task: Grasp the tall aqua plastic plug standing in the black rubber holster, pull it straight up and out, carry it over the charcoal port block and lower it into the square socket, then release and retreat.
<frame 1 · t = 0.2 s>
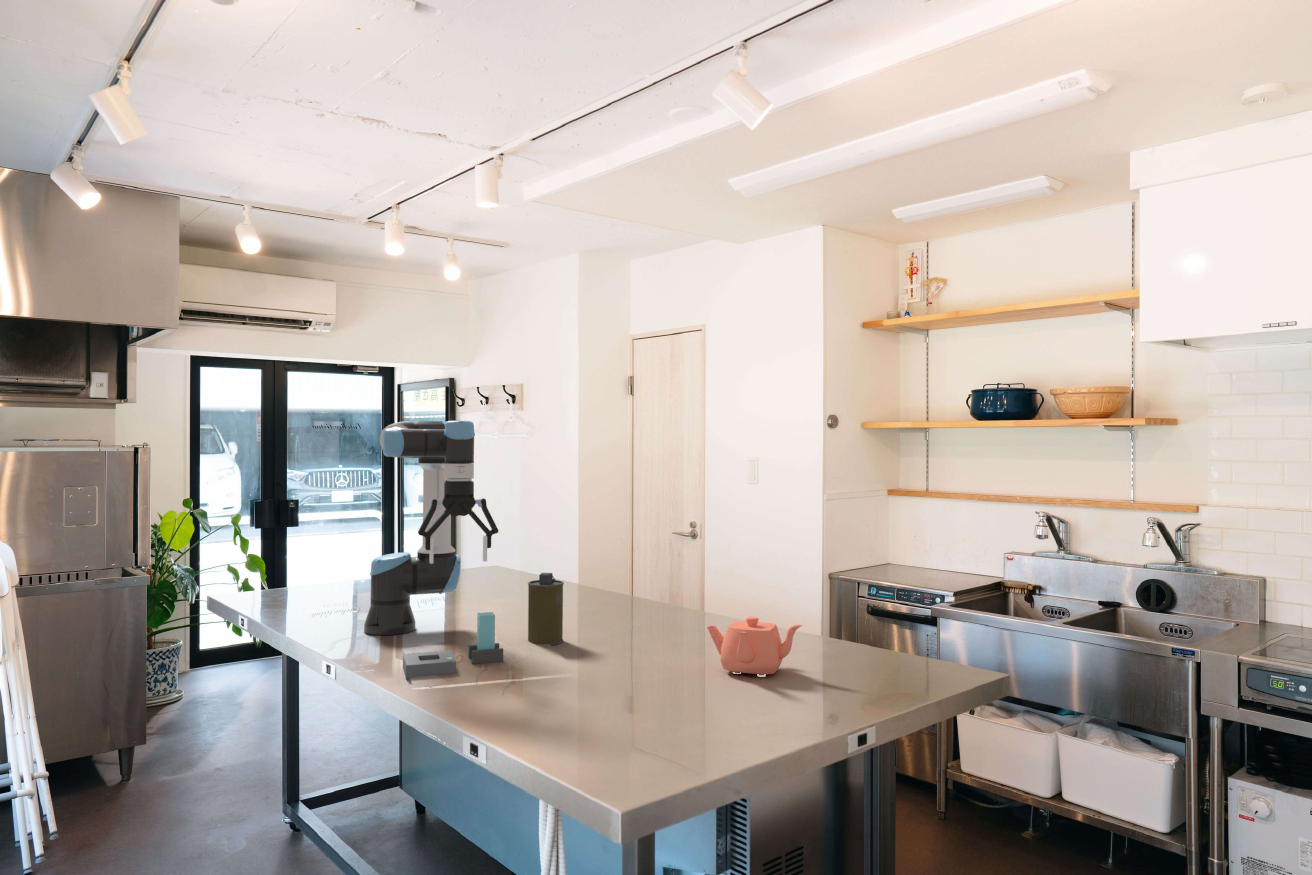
hand: (458, 561, 217), 27 cm above the table, fingers open, 13 cm apart
port: (429, 671, 212), on the table
holster: (485, 661, 222), on the table
teapot: (753, 672, 213), on the table
canister: (545, 642, 244), on the table
plug: (485, 659, 222), point 1 cm above the table, touching holster
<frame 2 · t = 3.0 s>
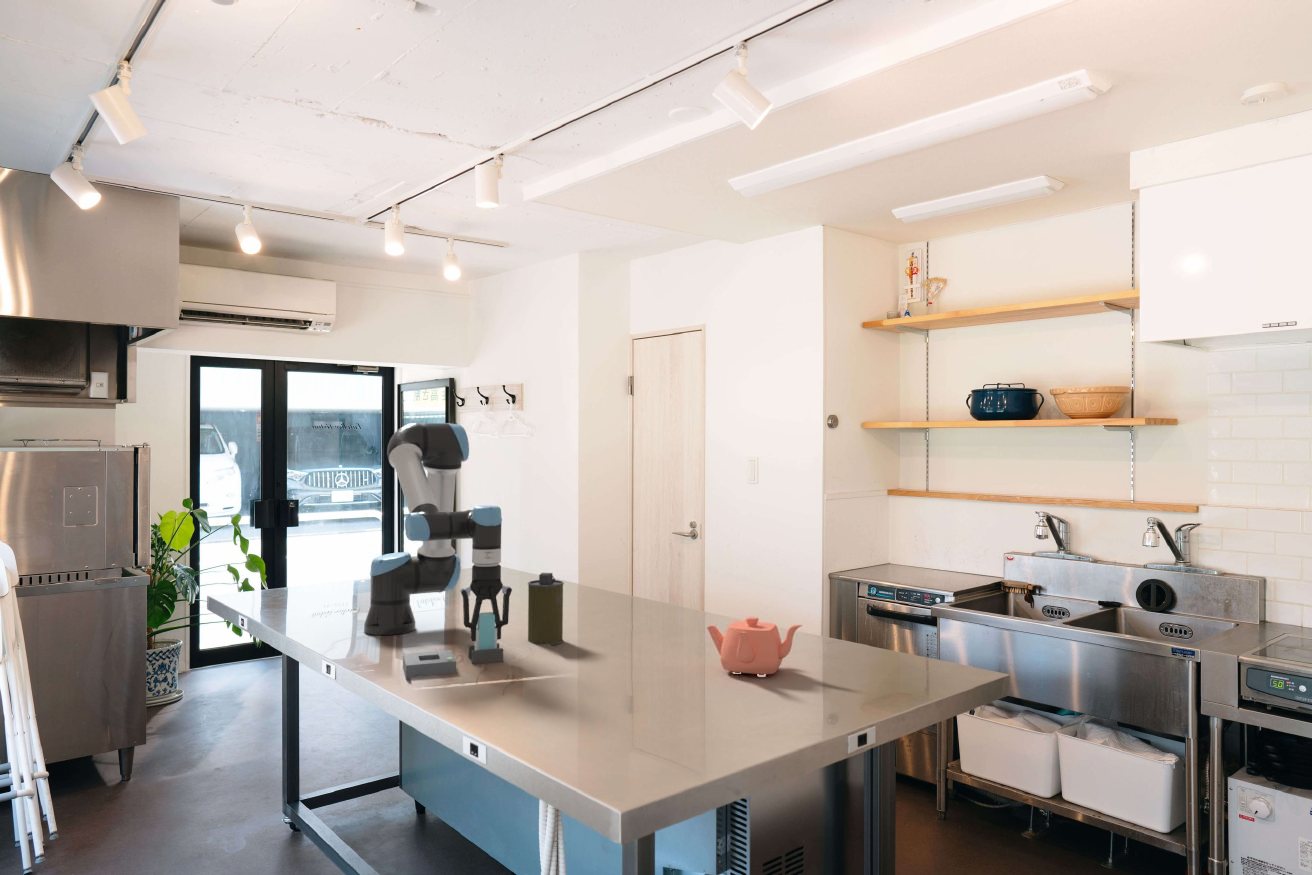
hand: (485, 652, 222), 2 cm above the table, fingers closed on plug, 4 cm apart
plug: (485, 659, 222), point 1 cm above the table, touching gripper, holster
everything else where it was.
when the fingers open (4 cm above the table, at t = 8.4 s): plug drops 2 cm, resting in port.
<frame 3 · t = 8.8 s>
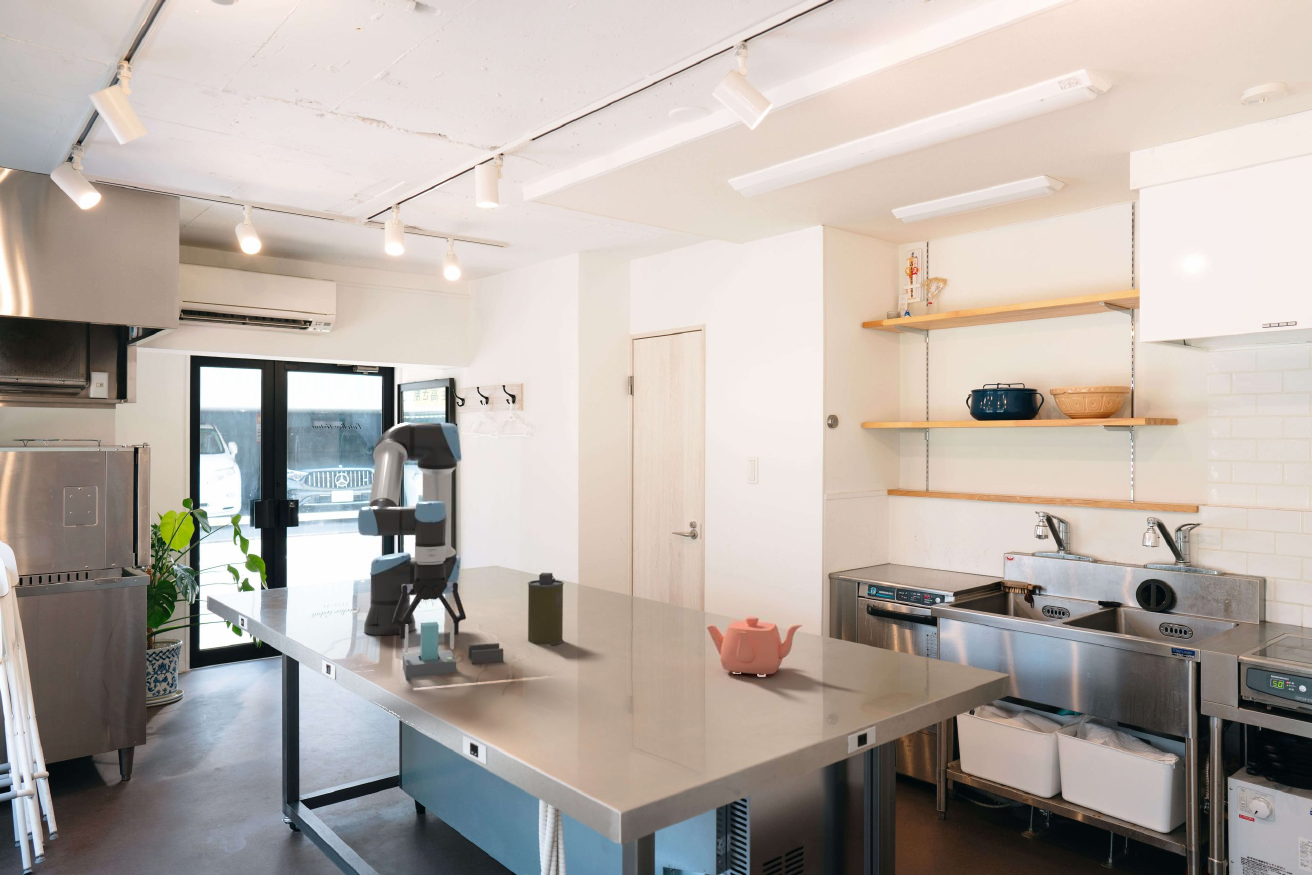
hand: (429, 649, 212), 5 cm above the table, fingers open, 10 cm apart
plug: (428, 671, 212), resting in port
everything else where it was.
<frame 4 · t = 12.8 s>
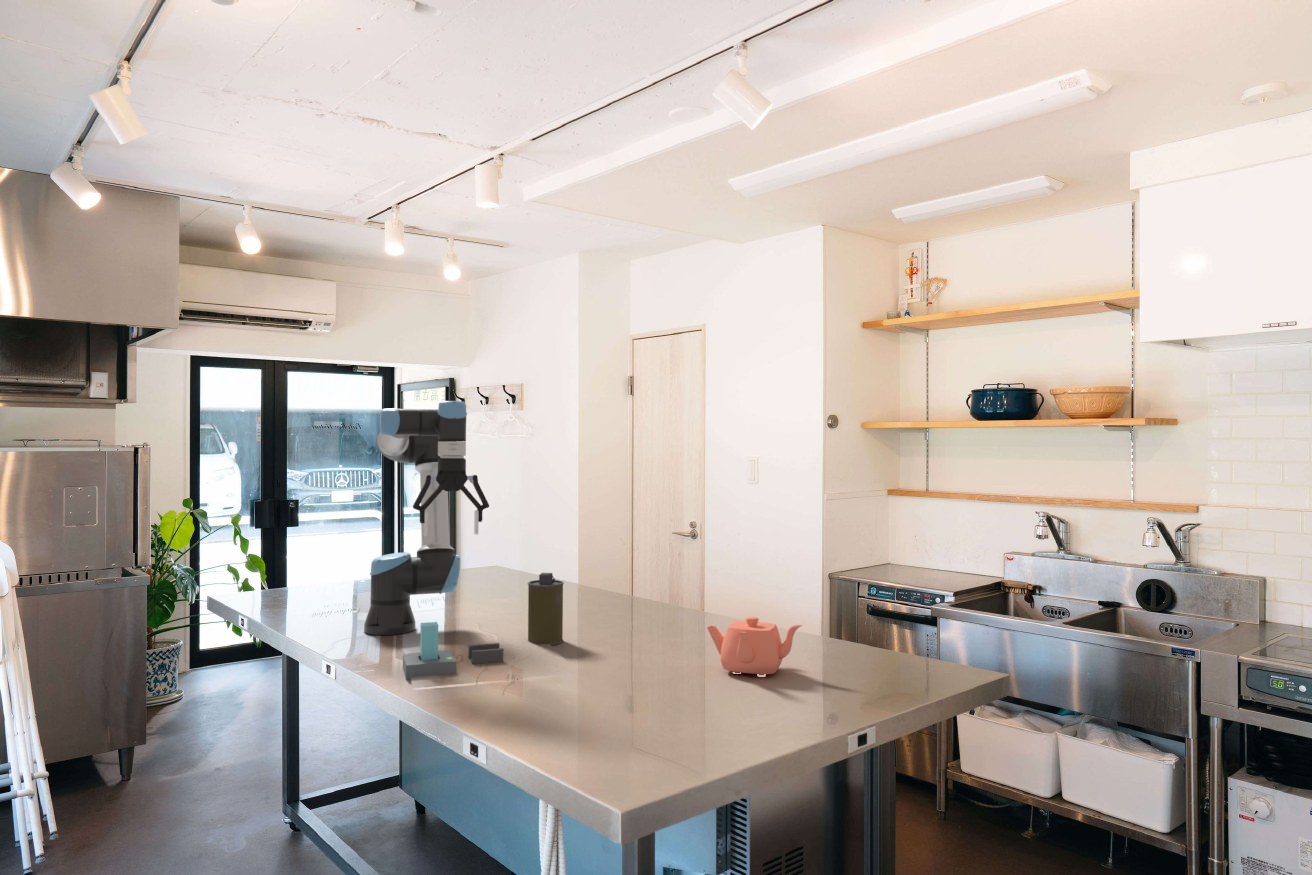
hand: (451, 534, 229), 33 cm above the table, fingers open, 13 cm apart
nothing on the table moved.
at the end: plug 0.0 cm off-centre on the port, point 0.0 cm above the port's base; plug tilted 0°; the gripper is holding nothing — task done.
